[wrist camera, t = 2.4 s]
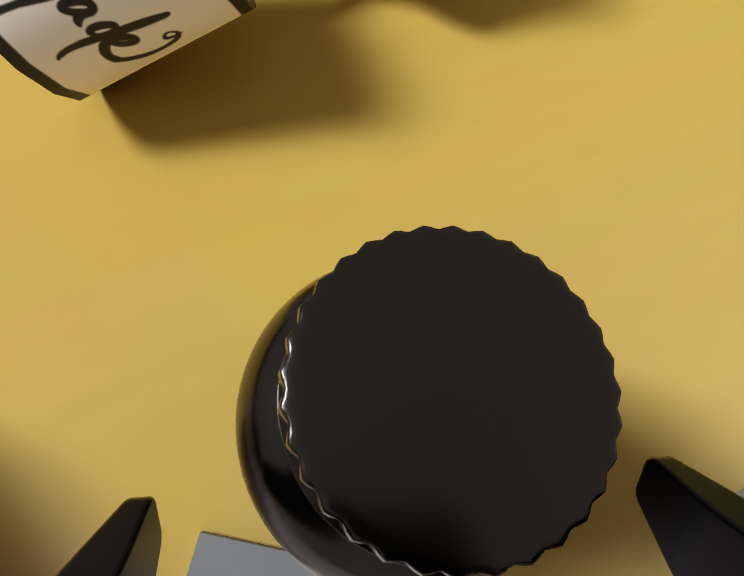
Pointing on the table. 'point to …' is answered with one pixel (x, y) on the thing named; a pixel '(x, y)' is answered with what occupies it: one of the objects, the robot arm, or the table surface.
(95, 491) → the table surface
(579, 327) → the supplement bottle
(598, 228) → the table surface
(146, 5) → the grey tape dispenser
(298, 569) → the grey mat
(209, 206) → the table surface
